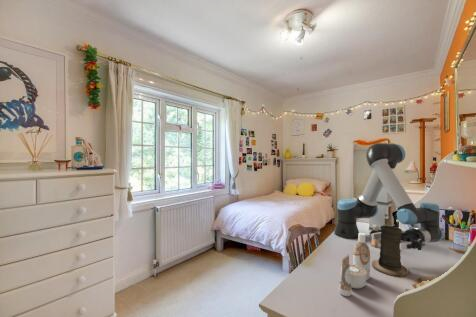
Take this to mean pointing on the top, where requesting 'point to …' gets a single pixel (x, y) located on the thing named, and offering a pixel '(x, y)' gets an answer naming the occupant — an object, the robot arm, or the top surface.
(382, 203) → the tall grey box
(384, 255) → the container
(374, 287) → the top surface
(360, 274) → the cosmetic set
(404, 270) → the walnut board
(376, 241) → the grandmother figurine
